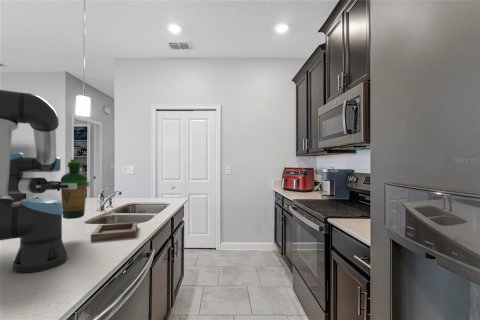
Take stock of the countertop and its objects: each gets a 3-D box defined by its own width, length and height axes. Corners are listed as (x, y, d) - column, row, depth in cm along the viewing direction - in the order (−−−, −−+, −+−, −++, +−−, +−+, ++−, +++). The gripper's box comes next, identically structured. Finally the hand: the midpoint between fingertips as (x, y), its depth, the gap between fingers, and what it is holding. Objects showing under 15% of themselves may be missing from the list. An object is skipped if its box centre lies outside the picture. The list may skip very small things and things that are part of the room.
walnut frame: (135, 237, 119) (135, 231, 119) (90, 241, 112) (90, 234, 112) (137, 227, 137) (137, 221, 137) (98, 230, 130) (98, 224, 130)
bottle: (60, 220, 109) (61, 159, 110) (59, 216, 118) (60, 159, 118) (88, 217, 116) (89, 159, 117) (85, 214, 124) (85, 159, 125)
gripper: (50, 190, 127) (94, 190, 129) (13, 196, 104) (68, 196, 106) (50, 176, 127) (95, 176, 129) (14, 179, 104) (68, 178, 106)
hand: (83, 185), depth 118 cm, fingers closed on bottle, 11 cm apart
